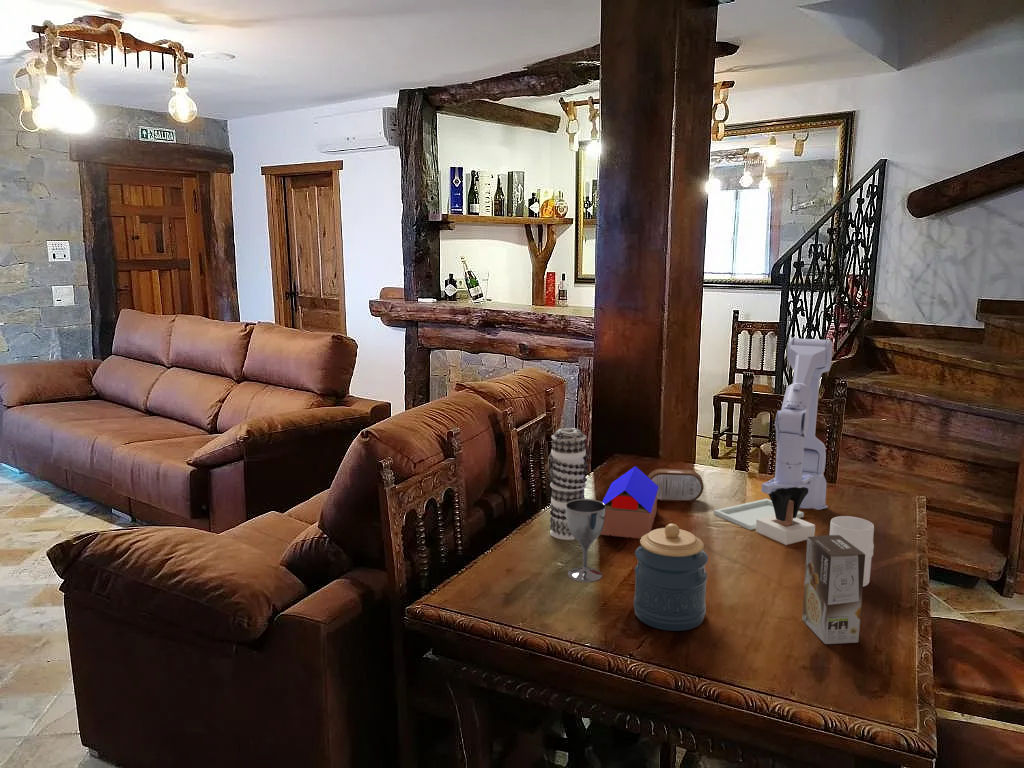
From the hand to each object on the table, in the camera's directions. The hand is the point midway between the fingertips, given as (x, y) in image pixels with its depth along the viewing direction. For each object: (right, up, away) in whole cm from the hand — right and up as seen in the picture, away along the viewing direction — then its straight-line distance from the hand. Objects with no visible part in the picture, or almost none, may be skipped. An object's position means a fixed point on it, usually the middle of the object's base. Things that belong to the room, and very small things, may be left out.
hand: (785, 518), depth 175 cm
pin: (0, -4, +1) cm, 4 cm away
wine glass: (-48, -9, -17) cm, 52 cm away
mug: (+6, -9, -18) cm, 21 cm away
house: (-34, -3, +12) cm, 36 cm away
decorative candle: (-50, -5, +5) cm, 50 cm away
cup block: (0, -5, +1) cm, 5 cm away
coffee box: (-7, -13, -41) cm, 43 cm away
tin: (-20, 0, +27) cm, 34 cm away
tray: (-2, -3, +13) cm, 14 cm away
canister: (-34, -12, -35) cm, 50 cm away
